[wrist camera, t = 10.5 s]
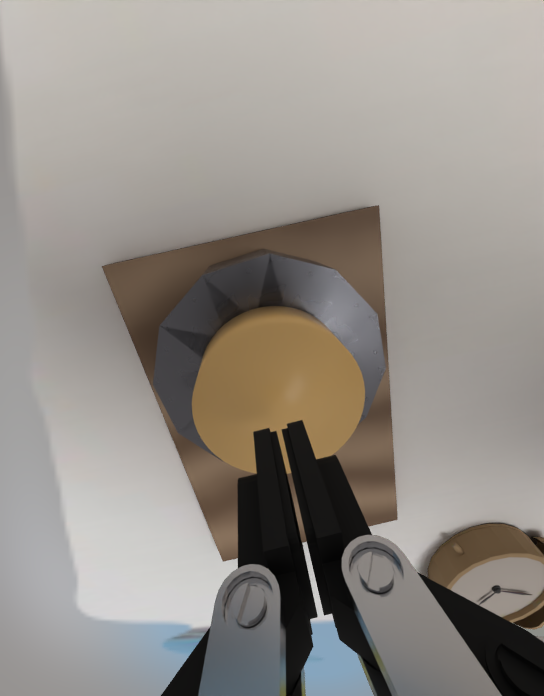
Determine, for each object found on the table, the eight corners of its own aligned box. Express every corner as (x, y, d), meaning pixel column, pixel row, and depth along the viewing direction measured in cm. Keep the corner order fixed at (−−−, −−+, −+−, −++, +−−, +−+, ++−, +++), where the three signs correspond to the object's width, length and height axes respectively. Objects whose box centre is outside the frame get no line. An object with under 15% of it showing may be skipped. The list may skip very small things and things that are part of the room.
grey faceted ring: (391, 340, 20) (425, 365, 17) (270, 452, 23) (276, 495, 19) (261, 204, 16) (268, 197, 13) (132, 356, 19) (106, 387, 15)
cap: (347, 343, 20) (398, 398, 14) (269, 417, 22) (281, 498, 15) (264, 263, 18) (279, 283, 11) (182, 353, 19) (154, 416, 13)
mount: (391, 508, 28) (397, 519, 27) (223, 548, 28) (223, 561, 27) (370, 206, 18) (378, 205, 17) (110, 263, 18) (101, 266, 17)
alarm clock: (470, 545, 27) (631, 582, 27) (444, 500, 32) (581, 532, 32) (421, 621, 31) (562, 653, 31) (404, 571, 35) (527, 600, 36)
